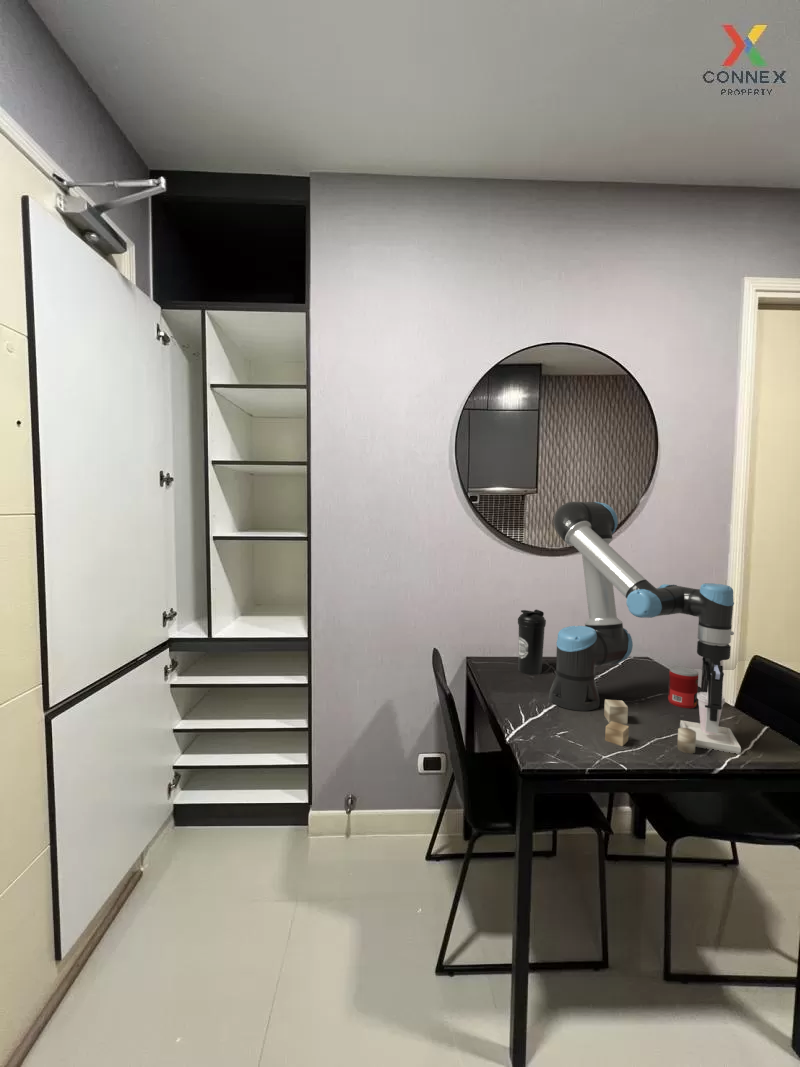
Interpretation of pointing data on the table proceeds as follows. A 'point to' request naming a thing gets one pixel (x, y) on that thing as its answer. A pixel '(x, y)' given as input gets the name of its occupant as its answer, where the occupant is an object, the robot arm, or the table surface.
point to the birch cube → (616, 711)
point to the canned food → (683, 687)
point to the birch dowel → (686, 740)
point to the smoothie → (702, 710)
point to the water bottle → (531, 641)
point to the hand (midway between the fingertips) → (709, 726)
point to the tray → (714, 738)
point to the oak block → (616, 733)
